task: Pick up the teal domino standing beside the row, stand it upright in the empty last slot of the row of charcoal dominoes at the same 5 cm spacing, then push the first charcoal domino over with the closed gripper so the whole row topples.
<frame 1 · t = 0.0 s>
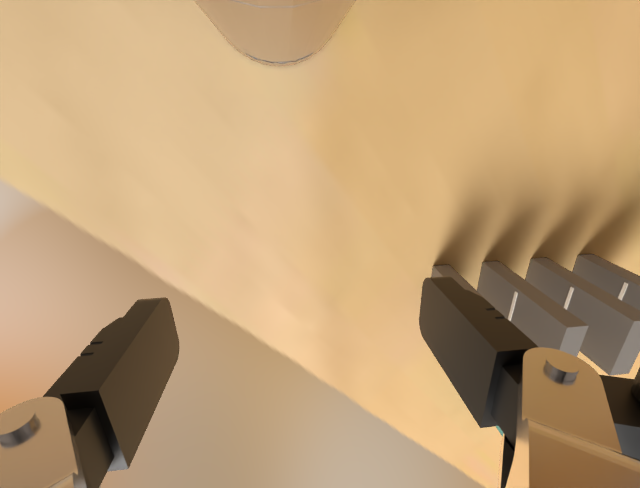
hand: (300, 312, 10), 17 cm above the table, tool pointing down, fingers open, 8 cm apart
tile 4: (577, 276, 32), on the table
tile 2: (485, 283, 32), on the table
tile 3: (532, 280, 32), on the table
tile 1: (437, 287, 31), on the table
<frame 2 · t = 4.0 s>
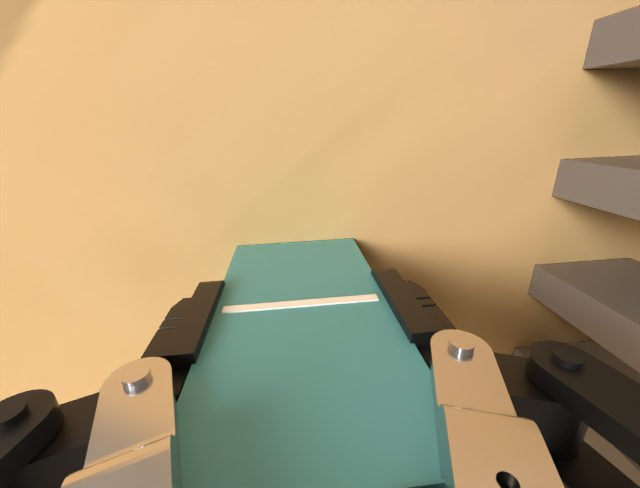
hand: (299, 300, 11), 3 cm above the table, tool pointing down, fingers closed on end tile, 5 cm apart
end tile: (297, 258, 14), on the table, touching gripper
tile 4: (554, 355, 18), on the table
tile 2: (608, 175, 14), on the table
tile 3: (578, 275, 16), on the table
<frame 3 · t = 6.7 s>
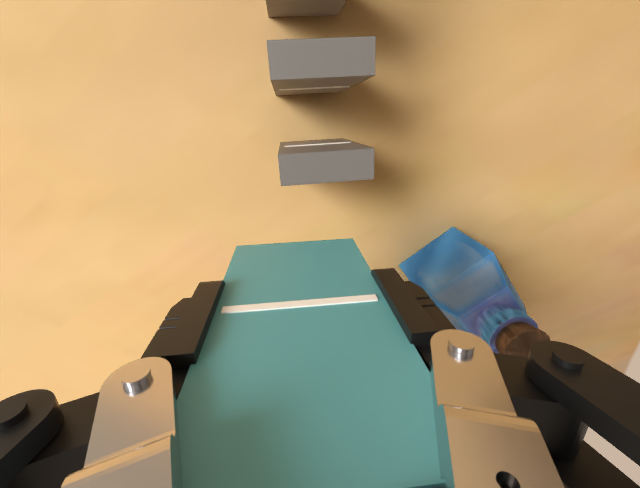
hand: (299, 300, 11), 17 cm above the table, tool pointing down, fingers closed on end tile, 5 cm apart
end tile: (296, 259, 14), point 14 cm above the table, touching gripper
perfume bottle: (439, 267, 31), on the table
tile 4: (312, 150, 26), on the table
tile 2: (303, 2, 22), on the table
tile 3: (308, 82, 24), on the table
when the fingers open (4 cm above the table, at t = 9.9 s): end tile stays where it is, on the table.
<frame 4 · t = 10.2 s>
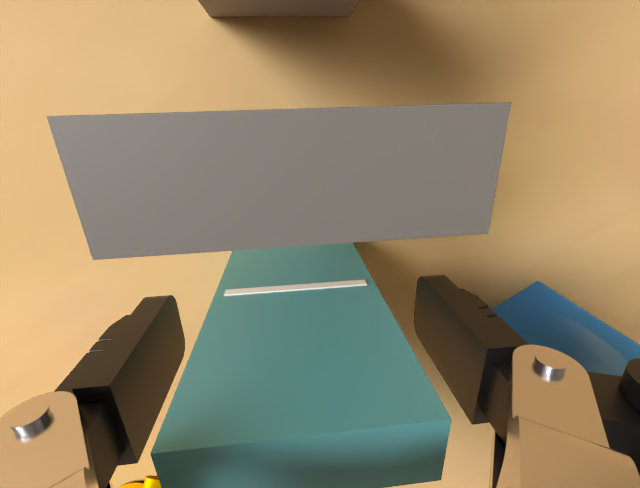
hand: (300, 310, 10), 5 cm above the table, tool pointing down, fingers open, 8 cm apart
end tile: (293, 250, 15), on the table
perfume bottle: (506, 344, 19), on the table
tile 4: (288, 138, 13), on the table
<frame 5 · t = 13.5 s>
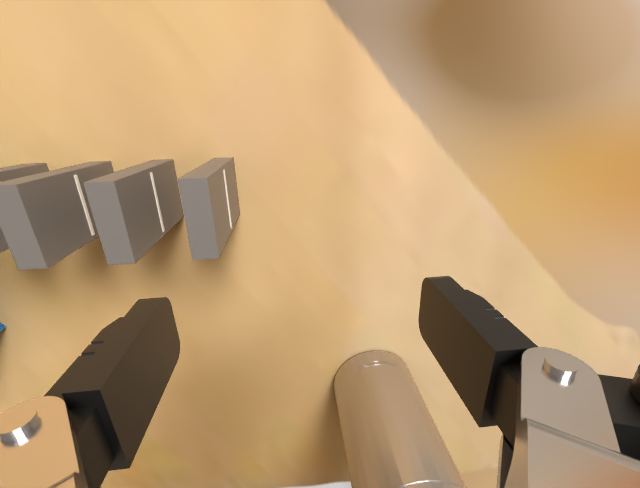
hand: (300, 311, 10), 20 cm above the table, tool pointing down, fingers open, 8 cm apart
tile 4: (46, 193, 27), on the table
tile 2: (169, 189, 27), on the table
tile 3: (108, 191, 27), on the table
tile 1: (227, 186, 28), on the table
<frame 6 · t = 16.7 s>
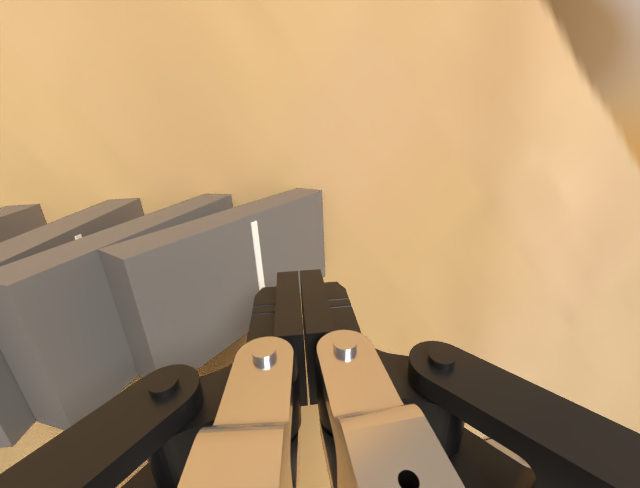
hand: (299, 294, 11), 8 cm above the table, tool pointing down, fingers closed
tile 4: (40, 250, 17), on the table
tile 2: (224, 238, 18), on the table, tilted 23°
tile 3: (136, 243, 17), on the table
tile 1: (311, 233, 18), point 1 cm above the table, tilted 40°
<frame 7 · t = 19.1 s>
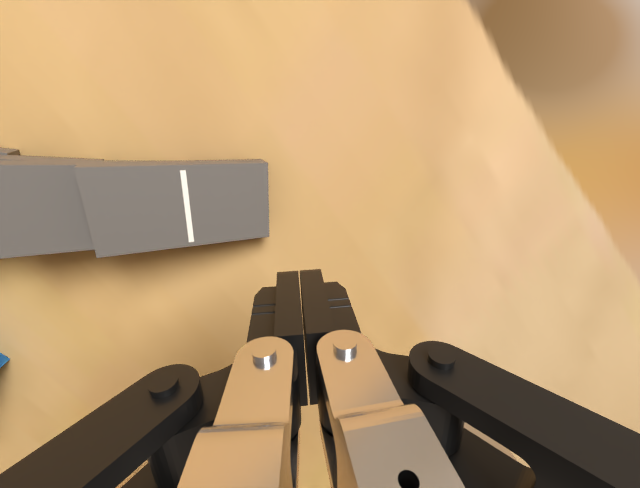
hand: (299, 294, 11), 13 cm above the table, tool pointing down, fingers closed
tile 2: (189, 201, 21), point 1 cm above the table, tilted 70°, touching tile 1
tile 3: (107, 200, 20), point 1 cm above the table, tilted 70°, touching tile 4
tile 1: (265, 198, 22), point 1 cm above the table, tilted 70°, touching tile 2
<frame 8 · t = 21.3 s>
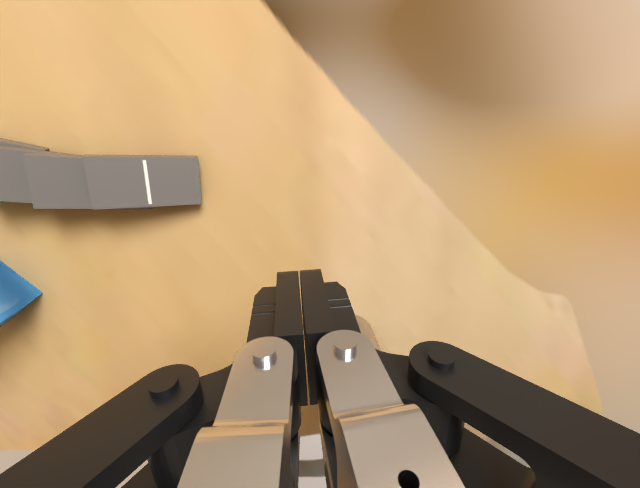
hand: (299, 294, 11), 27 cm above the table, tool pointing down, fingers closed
perfume bottle: (3, 288, 38), on the table
tile 4: (45, 173, 33), point 1 cm above the table, tilted 74°, touching end tile, tile 3
tile 2: (150, 184, 34), point 1 cm above the table, tilted 70°, touching tile 1, tile 3
tile 3: (99, 182, 34), point 1 cm above the table, tilted 70°, touching tile 2, tile 4
tile 1: (199, 180, 35), point 1 cm above the table, tilted 70°, touching tile 2
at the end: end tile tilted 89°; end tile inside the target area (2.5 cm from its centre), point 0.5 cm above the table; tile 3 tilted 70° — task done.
